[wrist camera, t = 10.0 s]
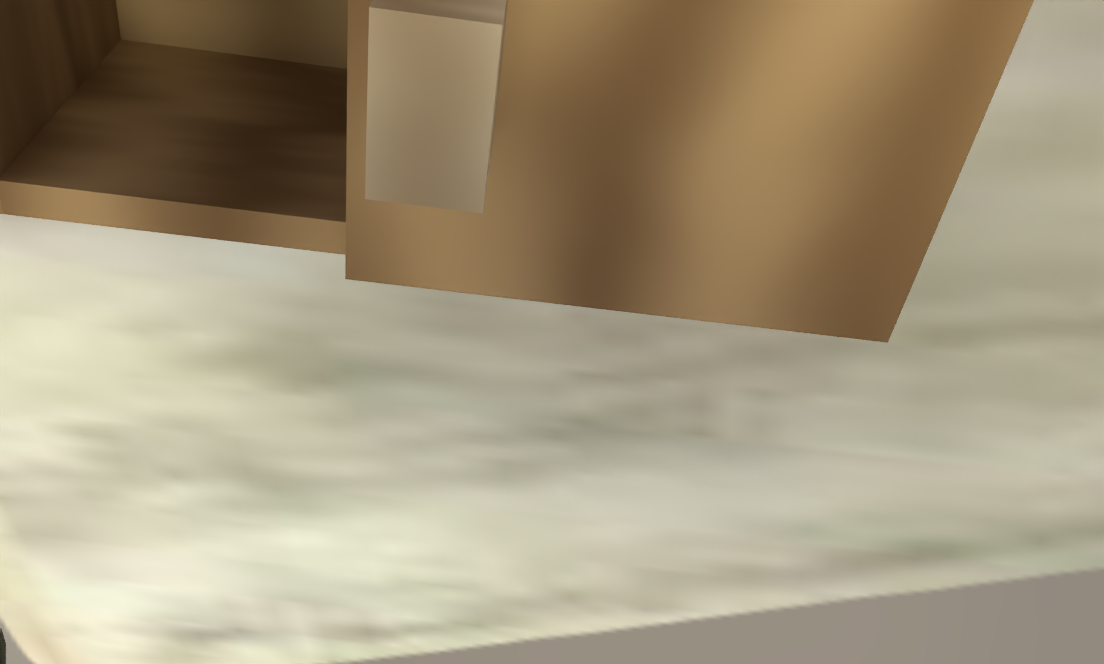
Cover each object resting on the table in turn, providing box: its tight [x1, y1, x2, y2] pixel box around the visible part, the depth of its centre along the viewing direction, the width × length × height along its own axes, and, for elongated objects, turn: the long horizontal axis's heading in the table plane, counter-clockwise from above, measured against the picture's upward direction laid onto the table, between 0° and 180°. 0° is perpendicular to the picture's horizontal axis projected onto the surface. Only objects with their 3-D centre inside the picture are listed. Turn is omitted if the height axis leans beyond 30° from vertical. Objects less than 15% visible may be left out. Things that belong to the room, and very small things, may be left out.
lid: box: [346, 0, 1034, 342], centre depth 22 cm, size 14×13×4 cm
